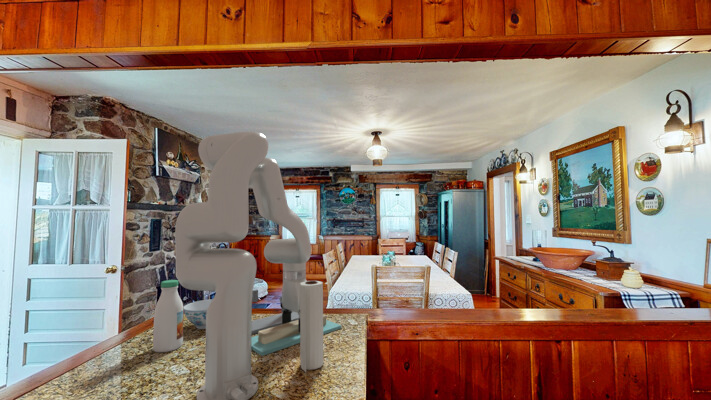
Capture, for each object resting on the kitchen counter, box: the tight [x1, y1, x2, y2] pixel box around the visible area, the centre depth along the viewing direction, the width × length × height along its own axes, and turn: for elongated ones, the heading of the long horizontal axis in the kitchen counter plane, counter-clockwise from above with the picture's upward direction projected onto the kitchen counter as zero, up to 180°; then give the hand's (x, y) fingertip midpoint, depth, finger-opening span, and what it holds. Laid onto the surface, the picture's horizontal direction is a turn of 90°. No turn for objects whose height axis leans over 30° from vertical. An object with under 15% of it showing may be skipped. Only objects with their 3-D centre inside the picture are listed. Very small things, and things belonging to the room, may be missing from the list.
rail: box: [257, 314, 327, 344], centre depth 100 cm, size 4×24×3 cm, turn 135°
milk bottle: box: [152, 279, 184, 353], centre depth 93 cm, size 8×8×20 cm
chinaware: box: [183, 298, 213, 330], centre depth 111 cm, size 15×15×8 cm
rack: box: [252, 289, 300, 336], centre depth 113 cm, size 10×24×20 cm, turn 135°
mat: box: [251, 319, 342, 357], centre depth 100 cm, size 13×30×1 cm, turn 135°
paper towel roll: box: [299, 280, 324, 373], centre depth 80 cm, size 7×6×21 cm
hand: (294, 327), depth 100 cm, fingers open, 9 cm apart
